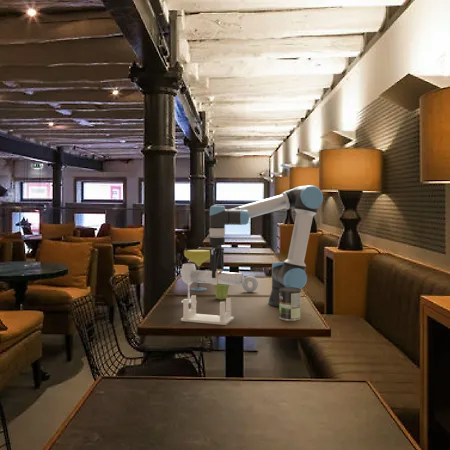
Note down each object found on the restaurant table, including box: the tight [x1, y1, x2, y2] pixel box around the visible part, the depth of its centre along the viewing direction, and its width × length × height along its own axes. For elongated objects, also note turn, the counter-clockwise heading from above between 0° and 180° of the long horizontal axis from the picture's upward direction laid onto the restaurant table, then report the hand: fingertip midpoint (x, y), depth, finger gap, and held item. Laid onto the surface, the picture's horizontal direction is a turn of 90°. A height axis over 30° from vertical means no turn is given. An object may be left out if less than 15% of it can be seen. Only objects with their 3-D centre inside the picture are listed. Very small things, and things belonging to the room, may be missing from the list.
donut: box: [241, 275, 259, 293], centre depth 298 cm, size 10×4×10 cm, turn 88°
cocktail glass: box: [183, 248, 212, 292], centre depth 306 cm, size 18×18×25 cm
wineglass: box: [180, 263, 197, 305], centre depth 268 cm, size 9×9×21 cm
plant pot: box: [214, 284, 230, 301], centre depth 278 cm, size 9×9×9 cm
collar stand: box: [180, 294, 235, 326], centre depth 229 cm, size 22×12×10 cm, turn 71°
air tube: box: [190, 269, 245, 286], centre depth 241 cm, size 26×6×6 cm, turn 71°
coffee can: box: [278, 287, 302, 322], centre depth 232 cm, size 10×10×14 cm
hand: (216, 283), depth 241 cm, fingers closed on air tube, 6 cm apart
